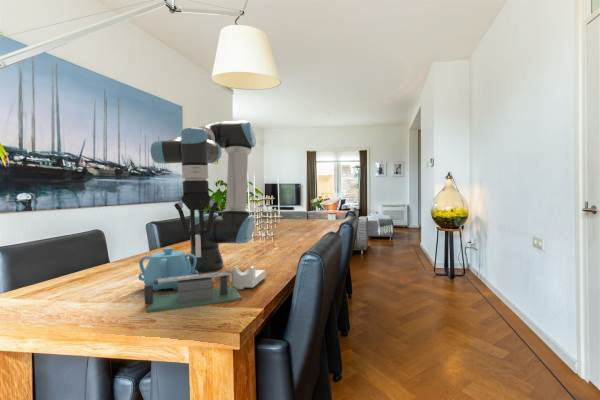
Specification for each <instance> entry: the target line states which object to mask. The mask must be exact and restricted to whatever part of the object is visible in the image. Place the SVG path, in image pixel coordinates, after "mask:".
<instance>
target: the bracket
mask: <svg viewBox="0 0 600 400" xmlns="http://www.w3.org/2000/svg"><path fill="white" fill-rule="evenodd" d="M265 278H266V269H265V270H264V269H256V266H255V265H252V266H250V267H249V269H245V270H244V271H242V270H240V267H239V265H237V264H236V265H234V266H232V286H235V287H236V289H237V290H244V289H245V288H250V289H251V288H255V286H257V285H258V284H259V283H260V282H262V280H263V279H265Z"/></svg>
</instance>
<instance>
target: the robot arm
mask: <svg viewBox="0 0 600 400" xmlns="http://www.w3.org/2000/svg"><path fill="white" fill-rule="evenodd" d="M256 140H257V139H256V134H255V129H254V127H253V124H252V122H250V121H248V120H236V121H235V120H231V121H228V120H227V121H215V122H210V123H207V124H205V125H201V126H198V127H185V128H182V130H181V131H180V136H178V137H176V138H172V139H169V140H159V141H154V142H153V143H152V144H151V145H150V148H149V149H150V157H151V158H152V159H151V160H152V161H154V163H156V164H165V165H166V164H180V163H181V172H182V174H181V175H182V176H181V177H182V180H183V182H182V197H181V200H180V201H178V202H176V203H174V205H173V206H174V208H175V209H176V210H177V212H178V215H179V218H180V222H181V225H182V228H183V231H184V232H183V233H184V234H185V235H188V236H190V238H189V239H190V240H189V241H190V252H189V254H193V255H195V256H196V258H197V263H196V266H195V269H194V270H197V271H198V273H200V272H211V271H216V270H220V269H222V268H223V267H224V259H223V257H222V253H221V251H220V245H219V244H237V245H239V244H246V243H247V244H248V243H249V242H250V240H251V239H252V238H253V237H252V236H253V233H254V227H255V222H254V221H255V219H254V217H253V216H252V215H250V214H251V212H250V211H249V210H248V209H247V203H248V202H247V197H248V196H247V195H248V194H247V193H248V192H247V191H248V166H249V165H248V164H249V163H248V161H249V158H248V157H249V155H250V154H251V153H252V148H253V149H254V148H256V144H257V143H256ZM222 149H224V151H225V153H226V154H227V177H226V178H227V180H226V199H225V200H226V201H225V202H226V203H225V204H226V205H225V208H224V210H222V213H221V215H219V213H218V212H215V211H216V209H217V207H218V205H219V202H218V201H214V200H213V199H212V198H211V195H210V191H209V190H210V188H209V181H208V180H207V179H209V165H208V164H213V163H216V162H218V161H219V160H220V159H221V156H222V153H223V151H222ZM184 205H185V207H187V209H188V210H189V218H190V222H189V226H188V224H187V221H186V217H185V214H184V210H183V207H184ZM207 205H209V207H210V208H209V212H208V213H207V214H206V213H205V214H204V210H205V209H206V207H207ZM195 211H198V215H195V214H196V212H195ZM188 227H189V228H188ZM188 259H189V261H190V264H191V268H192V266H193V263H194V259H193V258H192V257H188Z"/></svg>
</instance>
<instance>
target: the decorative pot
mask: <svg viewBox="0 0 600 400" xmlns="http://www.w3.org/2000/svg"><path fill="white" fill-rule="evenodd" d="M189 257H192V258H193V259H194V263H193V266H192V268H191V264H190V261H189ZM146 259H148V262H147V265H146V267H144V260H146ZM138 263H139V264H138V265H139V266H138V267H139V269H140V271H141V272H140V273H138V274H139V275H138V279H139V280H140V281H142V282H143V283H144V284H145V283H153V282H154V279H155V278H158V279H159V278H168V277H177V276H187V275H196V274H199V272H198V271H197V270H194V269H195V266H196V263H197V258H196V256H195V255H193V254H190V253H186V252H185V251H182V250H181V251H180V250H174V248H173V247H165V248H163V249H162V251H161V252H159V251H158V252H156V253H153V254H152V255H145V256H143V257H141V258H140V259H139V262H138ZM194 273H195V274H194ZM142 276H143V277H142ZM162 289H163V290H166V289H168V290H169V289H172V290H177V291H178V281H172V282H163V283H157V284H154V283H153V292H159V291H162Z"/></svg>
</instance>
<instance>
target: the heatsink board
mask: <svg viewBox="0 0 600 400" xmlns="http://www.w3.org/2000/svg"><path fill="white" fill-rule="evenodd" d="M218 277H219V287H217V288H214V280H213V277H207V278H198V279H189V280H180V281H178V289H177V292H176V293H174V292H173V293H168V294H161V295H154V291H153V290H154V289H153V283H144V305H148V306H147V313H154V312H160V311H169V310H177V309H182V308H183V309H184V308H191V307H197V306H199V307H200V306H206V305H213V304H219V303H226V302H233V301H241V300H242V296H241V294H240V292H239V291H238V289H236V287H235V286H233V285H232V286H228V275H225V276H218Z"/></svg>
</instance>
